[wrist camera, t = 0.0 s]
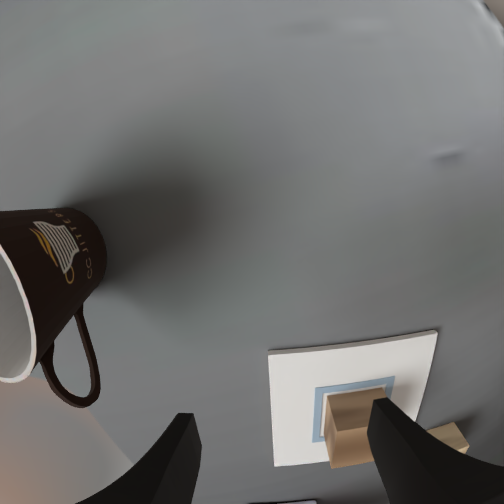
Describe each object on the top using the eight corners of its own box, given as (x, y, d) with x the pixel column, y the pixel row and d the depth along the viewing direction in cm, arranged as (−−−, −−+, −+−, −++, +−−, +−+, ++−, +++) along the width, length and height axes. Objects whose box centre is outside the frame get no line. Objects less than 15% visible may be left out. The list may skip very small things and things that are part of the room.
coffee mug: (18, 203, 19) (-80, 229, 10) (109, 181, 19) (5, 197, 9) (54, 342, 22) (-14, 412, 12) (143, 343, 22) (87, 438, 12)
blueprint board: (405, 441, 24) (407, 445, 24) (274, 461, 25) (274, 467, 24) (434, 329, 21) (438, 333, 21) (267, 350, 22) (268, 355, 21)
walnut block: (374, 425, 23) (387, 457, 19) (323, 433, 23) (331, 468, 19) (381, 387, 22) (398, 419, 18) (326, 395, 22) (336, 431, 18)
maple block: (441, 448, 25) (454, 471, 21) (407, 458, 25) (418, 484, 22) (453, 421, 24) (469, 445, 20) (417, 432, 24) (431, 459, 20)
